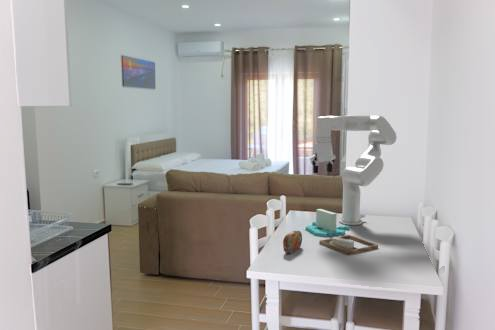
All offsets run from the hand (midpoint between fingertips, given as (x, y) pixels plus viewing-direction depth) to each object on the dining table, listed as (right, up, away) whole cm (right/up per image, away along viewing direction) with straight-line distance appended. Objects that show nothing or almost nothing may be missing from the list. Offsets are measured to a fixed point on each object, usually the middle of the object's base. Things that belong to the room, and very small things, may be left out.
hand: (322, 172), depth 229 cm
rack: (+8, -34, -26) cm, 44 cm away
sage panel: (+1, -29, -2) cm, 29 cm away
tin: (-19, -35, -33) cm, 52 cm away
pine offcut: (+4, -35, -29) cm, 45 cm away
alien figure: (+1, -32, -2) cm, 32 cm away
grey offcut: (+4, -33, -29) cm, 44 cm away
